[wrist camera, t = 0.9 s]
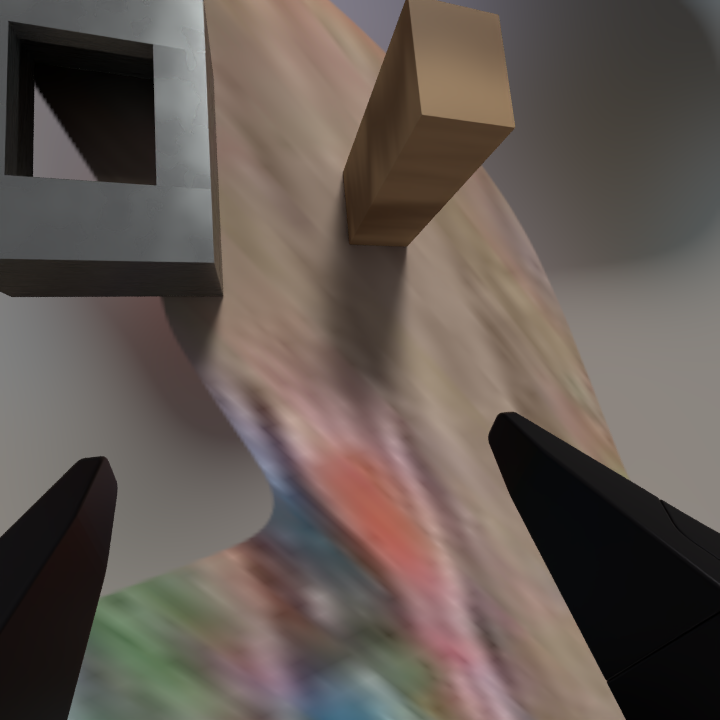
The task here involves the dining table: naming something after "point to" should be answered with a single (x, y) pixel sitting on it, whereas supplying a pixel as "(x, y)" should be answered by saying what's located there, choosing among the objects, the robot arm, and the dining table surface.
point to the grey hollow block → (106, 199)
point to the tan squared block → (426, 121)
